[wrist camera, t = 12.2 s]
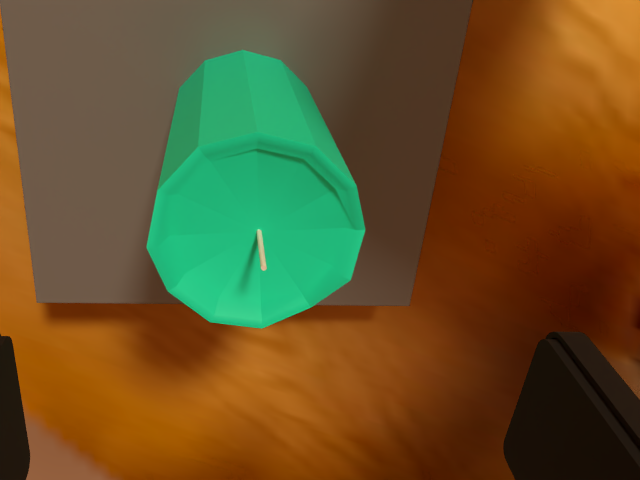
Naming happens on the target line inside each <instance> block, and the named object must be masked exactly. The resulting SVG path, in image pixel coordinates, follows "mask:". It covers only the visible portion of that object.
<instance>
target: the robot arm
mask: <svg viewBox="0 0 640 480" xmlns="http://www.w3.org/2000/svg"><path fill="white" fill-rule="evenodd" d="M504 455H505V459H506V461H507V463H508V465H509V467H510V469H511V471H512V473H513V475H514V477H515V480H640V400H639V399H638V397H637V396H636V395H635V394H634V393H633V391H632V390H631V389H630V388H629V386H628V385H627V384H626V383H625V382H624V380H623V379H622V378H621V377H620V376H619V374H618V373H617V372H616V371H615V369H614V368H613V367H612V366H611V365H610V363H609V362H608V361H607V360H606V358H605V357H604V356H603V355H602V354H601V352H600V351H599V350H598V349H597V348H596V346H595V345H594V344H593V343H592V341H591V340H590V339H589V338H588V337H587V336H586V335H585V334H584V333H581V332H551V333H549V334H548V335H547V337H546V339H543V340H541V341H540V342H539V343H538V345H537V348H536V351H535V353H534V356H533V359H532V362H531V365H530V368H529V371H528V374H527V376H526V379H525V382H524V385H523V388H522V391H521V394H520V396H519V399H518V402H517V405H516V408H515V411H514V414H513V417H512V419H511V422H510V425H509V428H508V431H507V434H506V437H505V440H504ZM29 463H30V450H29V444H28V437H27V431H26V425H25V418H24V412H23V406H22V400H21V393H20V387H19V381H18V375H17V368H16V362H15V356H14V349H13V343H12V340H11V338H10V337H9V336H1V335H0V480H26V477H27V474H28V469H29Z"/></svg>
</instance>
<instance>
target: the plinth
mask: <svg viewBox="0 0 640 480" xmlns="http://www.w3.org/2000/svg"><path fill="white" fill-rule="evenodd" d="M472 2H473V0H0V8H1V16H2V24H3V32H4V40H5V48H6V56H7V65H8V73H9V81H10V89H11V97H12V105H13V113H14V121H15V129H16V138H17V146H18V154H19V162H20V170H21V178H22V186H23V194H24V202H25V210H26V219H27V227H28V235H29V243H30V251H31V259H32V267H33V275H34V283H35V292H36V300H37V303H136V304H184V303H183V302H181V301H180V300H179V299H177V298H176V297H175V296H173V295H172V294H171V293H169V292H168V291H167V289H166V287H165V285H164V283H163V281H162V279H161V277H160V275H159V273H158V271H157V269H156V267H155V264H154V262H153V260H152V258H151V256H150V254H149V252H148V250H147V248H146V247H147V241H148V236H149V231H150V226H151V220H152V215H153V210H154V205H155V199H156V194H157V189H158V185H159V180H160V175H161V171H162V166H163V161H164V157H165V152H166V147H167V143H168V138H169V133H170V129H171V124H172V120H173V115H174V110H175V106H176V101H177V96H178V92H179V88H180V87H181V86H182V85H183V84H184V83H185V81H186V80H187V79H188V78H189V77H190V76H191V75H192V74H193V73H194V72H195V71H196V70H197V69H198V68H199V66H200V65H201V64H202V63H203V62H204V61H205V60H208V59H212V58H215V57H219V56H223V55H226V54H230V53H233V52H237V51H241V50H245V51H249V52H253V53H256V54H260V55H264V56H267V57H271V58H275V59H279V60H281V61H282V62H283V63H284V64H285V65H286V66H287V67H288V68H289V69H290V70H291V71H292V72H293V73H294V74H295V75H296V76H297V77H298V78H299V79H300V80H301V81H302V82H303V83H304V84H305V85H306V86H307V88H308V90H309V92H310V94H311V96H312V98H313V100H314V102H315V104H316V106H317V108H318V110H319V112H320V114H321V116H322V118H323V120H324V122H325V124H326V126H327V128H328V130H329V132H330V134H331V136H332V138H333V140H334V142H335V144H336V146H337V148H338V150H339V152H340V154H341V156H342V158H343V160H344V162H345V164H346V166H347V168H348V170H349V172H350V174H351V176H352V178H353V180H354V182H355V184H356V185H357V190H358V195H359V200H360V205H361V210H362V215H363V220H364V225H365V233H364V237H363V240H362V243H361V247H360V250H359V254H358V257H357V261H356V264H355V267H354V271H353V274H352V278H351V280H350V281H349V282H348V283H346V284H345V285H343V286H342V287H340V288H339V289H337V290H336V291H334V292H333V293H332V294H330V295H329V296H327V297H326V298H324V299H323V300H321V301H320V302H318V303H317V304H316V305H361V306H410V301H411V296H412V291H413V286H414V282H415V277H416V272H417V267H418V262H419V257H420V253H421V248H422V243H423V238H424V233H425V229H426V224H427V219H428V214H429V209H430V205H431V200H432V195H433V190H434V185H435V180H436V176H437V171H438V166H439V161H440V156H441V152H442V147H443V142H444V137H445V132H446V128H447V123H448V118H449V113H450V108H451V103H452V99H453V94H454V89H455V84H456V79H457V75H458V70H459V65H460V60H461V55H462V51H463V46H464V41H465V36H466V31H467V26H468V22H469V17H470V12H471V7H472Z"/></svg>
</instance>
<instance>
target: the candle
mask: <svg viewBox="0 0 640 480" xmlns="http://www.w3.org/2000/svg"><path fill="white" fill-rule="evenodd" d="M364 233H365V225H364V220H363V215H362V210H361V205H360V200H359V195H358V190H357V185H356V184H355V182H354V180H353V178H352V176H351V174H350V172H349V170H348V168H347V166H346V164H345V162H344V160H343V158H342V156H341V154H340V152H339V150H338V148H337V146H336V144H335V142H334V140H333V138H332V136H331V134H330V132H329V130H328V128H327V126H326V124H325V122H324V120H323V118H322V116H321V114H320V112H319V110H318V108H317V106H316V104H315V102H314V100H313V98H312V96H311V94H310V92H309V90H308V88H307V86H306V85H305V84H304V83H303V82H302V81H301V80H300V79H299V78H298V77H297V76H296V75H295V74H294V73H293V72H292V71H291V70H290V69H289V68H288V67H287V66H286V65H285V64H284V63H283V62H282V61H281V60H279V59H275V58H271V57H267V56H264V55H260V54H256V53H253V52H249V51H245V50H241V51H237V52H233V53H230V54H226V55H223V56H219V57H215V58H212V59H208V60H205V61H204V62H203V63H202V64H201V65H200V66H199V68H198V69H197V70H196V71H195V72H194V73H193V74H192V75H191V76H190V77H189V78H188V79H187V80H186V81H185V83H184V84H183V85H182V86H181V87H180V88H179V92H178V96H177V101H176V106H175V110H174V115H173V120H172V124H171V129H170V133H169V138H168V143H167V147H166V152H165V157H164V161H163V166H162V171H161V175H160V180H159V185H158V189H157V194H156V199H155V205H154V210H153V215H152V220H151V226H150V231H149V236H148V241H147V247H146V248H147V250H148V252H149V254H150V256H151V258H152V260H153V262H154V264H155V267H156V269H157V271H158V273H159V275H160V277H161V279H162V281H163V283H164V285H165V287H166V289H167V291H168V292H169V293H171V294H172V295H173V296H175V297H176V298H177V299H179V300H180V301H181V302H183V303H184V304H186V305H187V306H188V307H190V308H191V309H192V310H194V311H195V312H197V313H198V314H199V315H201V316H202V317H203V318H205V319H206V320H207V321H209V322H212V323H220V324H228V325H237V326H245V327H254V328H264V327H267V326H269V325H271V324H274V323H276V322H278V321H281V320H283V319H286V318H288V317H290V316H293V315H295V314H297V313H300V312H302V311H304V310H307V309H309V308H311V307H313V306H314V305H316V304H317V303H318V302H320V301H321V300H323V299H324V298H326V297H327V296H329V295H330V294H332V293H333V292H334V291H336V290H337V289H339V288H340V287H342V286H343V285H345V284H346V283H348V282H349V281H350V280H351V278H352V274H353V271H354V267H355V264H356V261H357V257H358V254H359V250H360V247H361V243H362V240H363V237H364Z"/></svg>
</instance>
